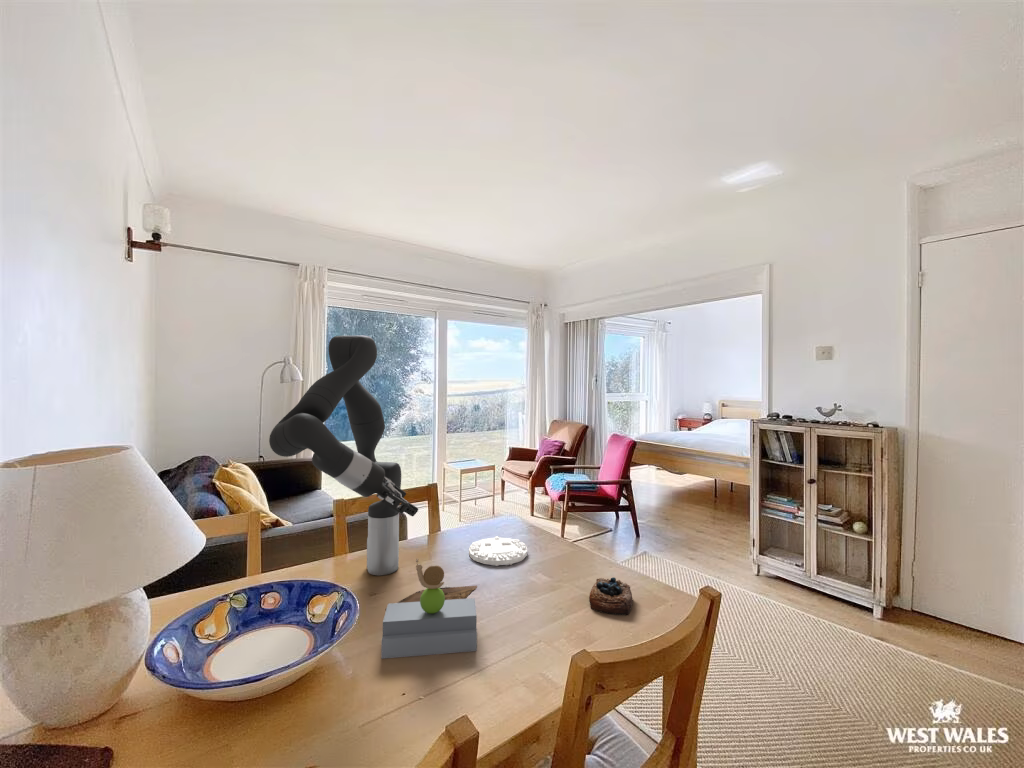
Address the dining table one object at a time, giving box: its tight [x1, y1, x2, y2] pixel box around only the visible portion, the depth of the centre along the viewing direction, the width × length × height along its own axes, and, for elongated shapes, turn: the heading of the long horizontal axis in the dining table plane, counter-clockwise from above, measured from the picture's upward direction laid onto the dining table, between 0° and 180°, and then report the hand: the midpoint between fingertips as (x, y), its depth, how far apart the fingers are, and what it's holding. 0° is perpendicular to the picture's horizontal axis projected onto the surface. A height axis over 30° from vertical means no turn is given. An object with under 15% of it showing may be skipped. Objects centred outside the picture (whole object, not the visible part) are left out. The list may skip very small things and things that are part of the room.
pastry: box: [588, 577, 634, 616], centre depth 111 cm, size 11×12×6 cm
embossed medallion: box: [468, 535, 528, 567], centre depth 142 cm, size 20×20×3 cm
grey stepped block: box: [380, 597, 478, 660], centre depth 94 cm, size 20×10×7 cm, turn 98°
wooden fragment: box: [385, 585, 478, 610], centre depth 112 cm, size 26×11×1 cm, turn 118°
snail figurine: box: [415, 558, 445, 614], centre depth 93 cm, size 5×6×12 cm
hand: (409, 504), depth 103 cm, fingers open, 8 cm apart
